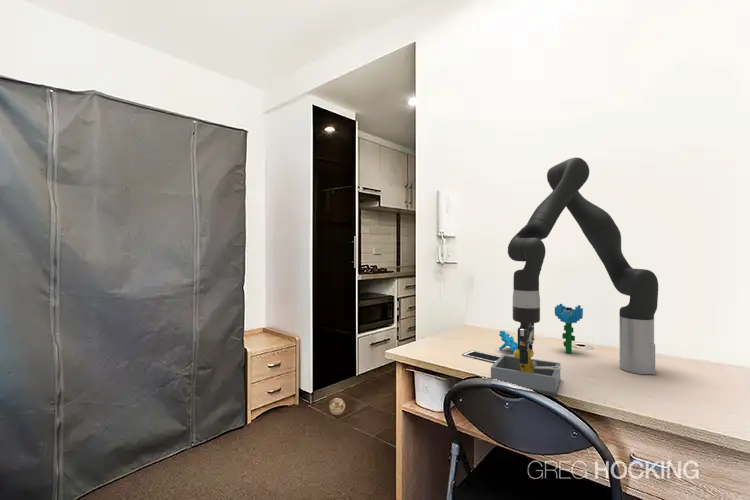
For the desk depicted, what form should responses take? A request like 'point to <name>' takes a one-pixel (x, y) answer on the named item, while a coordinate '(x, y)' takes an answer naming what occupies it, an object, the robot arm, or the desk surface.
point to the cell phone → (481, 356)
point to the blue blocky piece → (508, 341)
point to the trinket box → (337, 406)
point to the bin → (527, 375)
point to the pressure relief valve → (530, 365)
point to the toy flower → (568, 322)
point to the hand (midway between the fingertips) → (526, 359)
